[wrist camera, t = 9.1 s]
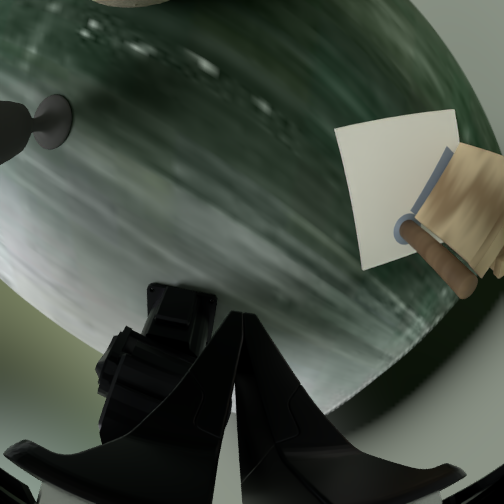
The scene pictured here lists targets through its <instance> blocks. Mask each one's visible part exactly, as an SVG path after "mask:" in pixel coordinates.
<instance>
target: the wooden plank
mask: <svg viewBox="0 0 504 504" xmlns="http://www.w3.org/2000/svg"><path fill="white" fill-rule="evenodd" d="M399 233H400V236H401V237H402V238H403V239H404V240H405V241H406V242H407V243H408V244H409V245H410V246H411V247H413V248H414V249H415V250H416V251H417V252H418V253H419V254H420V255H421V256H422V258H423V259H424V260H425V261H426V262H427V263H428V264H429V265H430V266H431V267H432V268H433V269H434V270H435V271H436V272H437V273H438V274H439V275H440V276H441V277H442V279H443V280H444V281H445V282H446V283H447V284H448V285H449V286H450V287H451V289H452V290H453V291H454V292H455V293H456V294H457V295H458V297H459V298H460V299H465V298H467V297H469V296H470V295H471V294H472V293H473V291H474V290H475V288H476V286H477V282H478V280H477V277H476V276H475V275H474V274H473V273H472V272H471V271H470V270H469V269H468V268H467V267H466V266H465V265H464V264H463V263H462V262H461V261H459V260H458V259H457V258H456V257H455V256H454V255H453V254H452V253H451V252H450V251H448V250H447V249H446V248H445V247H444V246H443V245H442V244H440V243H439V242H438V241H437V240H436V239H435V238H433V237H432V236H431V235H430V234H429V233H427V232H426V231H425V230H424V229H423V228H421V227H420V226H419V225H418V224H416V223H415V222H414V221H412V220H406V221H404V222H403V223H402V224H401V226H400V229H399ZM490 268H491V269H492V270H493V271H494V272H493V274H494V275H495V276H496V277H497V278H500V277H502V276H504V246H503V247H502V249H501V251H500V252H499V254H498V255H497V257H496V258H495V260H494V261H493V263H492V264H491V266H490Z"/></svg>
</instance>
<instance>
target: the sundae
mask: <svg viewBox="0 0 504 504" xmlns="http://www.w3.org/2000/svg"><path fill="white" fill-rule="evenodd" d="M71 122H72V114H71V108H70V105H69V103H68V101H67V100H66V99H65V98H64V97H62V96H60V95H51V96H49V97H47V98H45V99H44V100H43V101H42V102H41V103H40V105H39V107H38V108H37V110H36V112H35V115H34V118H32V117H31V115H30V113H29V111H28V109H27V108H26V107H25V106H24V105H23V104H20V103H15V102H10V101H0V165H1V164H3V163H5V162H6V161H8V160H10V159H11V158H13V157H14V156H16V155H17V154H19V153H20V152H21V151H22V150H23V149H24V148H25V146H26V145H27V143H28V140H29V138H30V135H31V133H33V134H34V137H35V139H36V141H37V142H38V144H39V145H40V146H41V147H43V148H45V149H54V148H57V147H58V146H59V145H61V144H62V143H63V142H64V140H65V139H66V137H67V135H68V133H69V130H70V127H71Z"/></svg>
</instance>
